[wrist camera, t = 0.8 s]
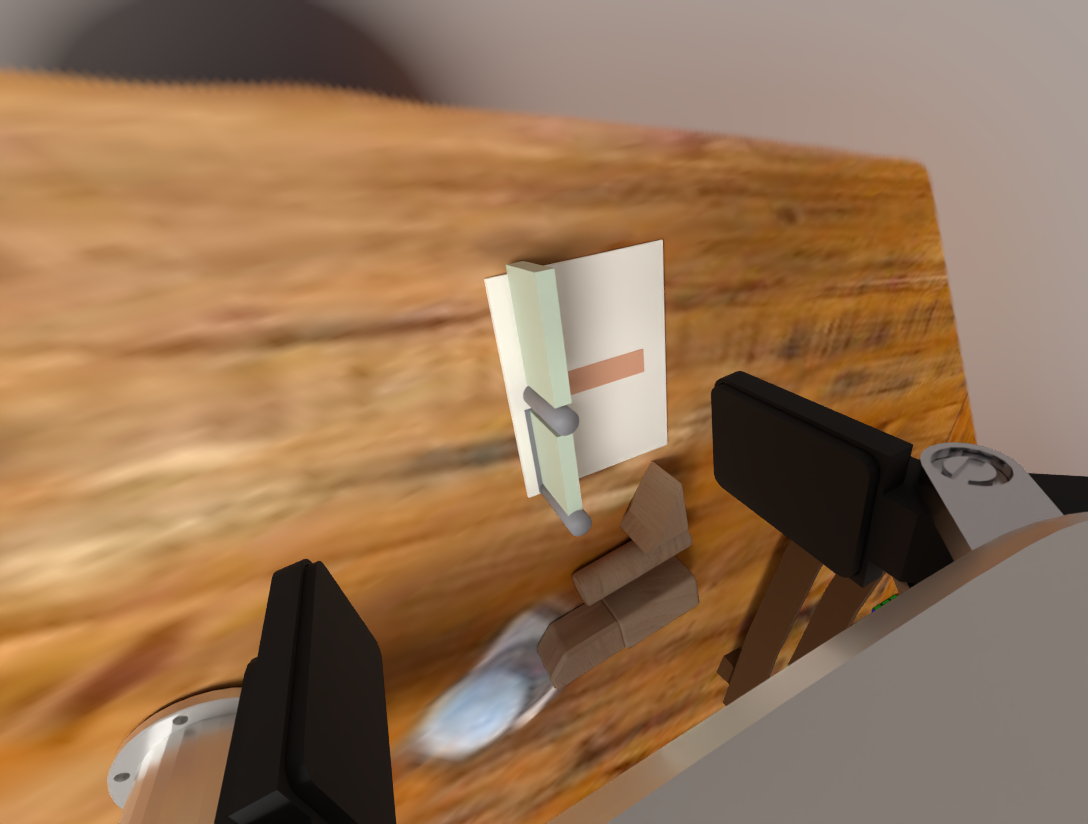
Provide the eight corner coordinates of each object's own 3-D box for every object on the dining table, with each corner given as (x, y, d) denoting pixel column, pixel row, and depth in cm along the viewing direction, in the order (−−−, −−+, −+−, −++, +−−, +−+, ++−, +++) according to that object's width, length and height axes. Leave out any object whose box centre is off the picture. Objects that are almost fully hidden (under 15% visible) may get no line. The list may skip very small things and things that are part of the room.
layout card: (665, 443, 42) (667, 444, 41) (527, 495, 38) (529, 498, 37) (660, 239, 34) (663, 239, 33) (483, 278, 30) (485, 279, 29)
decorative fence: (800, 473, 53) (947, 554, 40) (830, 474, 55) (977, 550, 43) (705, 687, 63) (798, 805, 50) (734, 679, 65) (830, 789, 53)
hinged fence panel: (541, 379, 33) (571, 403, 29) (526, 384, 33) (555, 408, 29) (522, 260, 29) (554, 268, 25) (505, 264, 29) (534, 272, 25)
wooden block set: (714, 607, 46) (562, 705, 42) (679, 570, 51) (539, 655, 47) (699, 483, 38) (508, 591, 34) (658, 453, 43) (486, 544, 39)
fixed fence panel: (559, 489, 39) (592, 530, 34) (540, 497, 38) (571, 539, 33) (541, 378, 34) (577, 406, 29) (519, 385, 34) (552, 415, 28)
